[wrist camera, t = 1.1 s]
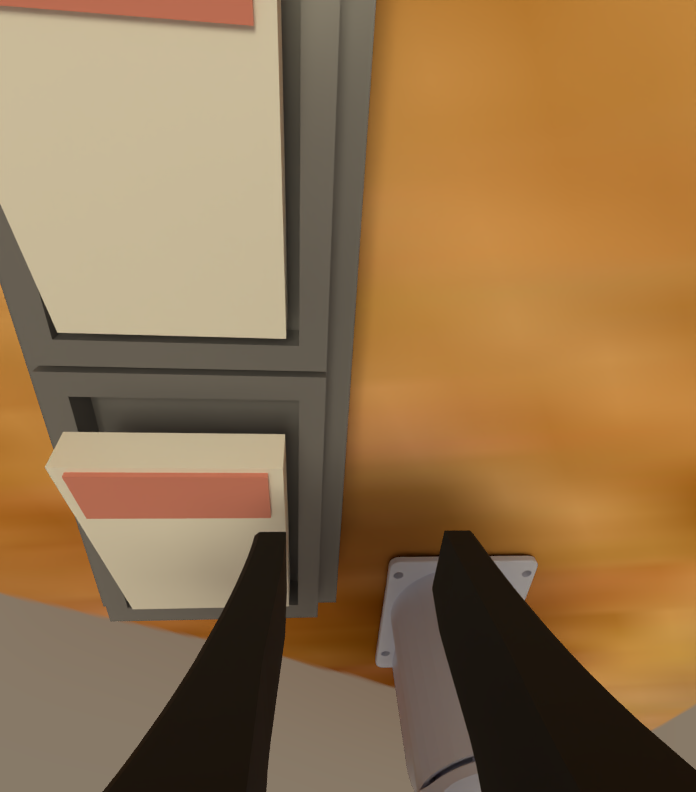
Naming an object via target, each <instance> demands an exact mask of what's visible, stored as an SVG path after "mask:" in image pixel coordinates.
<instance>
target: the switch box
mask: <svg viewBox="0 0 696 792" xmlns="http://www.w3.org/2000/svg"><path fill="white" fill-rule="evenodd" d="M375 9H376V0H281V24H282V68H283V112H284V156H285V200H286V244H287V287H288V322H287V334H286V339H273V338H236V337H199V336H162V335H125V334H88V333H57V331H56V328H55V326H54V324H53V322H52V319H51V317H50V315H49V313H48V310H47V308H46V306H45V304H44V301H43V299H42V297H41V295H40V292H39V290H38V288H37V286H36V283H35V281H34V279H33V277H32V274H31V272H30V270H29V268H28V265H27V263H26V261H25V259H24V256H23V254H22V252H21V250H20V247H19V245H18V243H17V241H16V238H15V236H14V234H13V232H12V229H11V227H10V225H9V223H8V220H7V218H6V216H5V214H4V211H3V209H2V207H1V205H0V284H1V287H2V290H3V293H4V296H5V299H6V302H7V306H8V309H9V312H10V315H11V318H12V321H13V324H14V327H15V331H16V334H17V337H18V340H19V343H20V346H21V349H22V352H23V356H24V359H25V362H26V365H27V368H28V371H29V374H30V377H31V381H32V384H33V387H34V390H35V393H36V396H37V399H38V402H39V406H40V409H41V412H42V415H43V418H44V421H45V424H46V427H47V431H48V434H49V437H50V440H51V443H52V446H53V449H55V447H56V445H57V443H58V441H59V439H60V437H61V435H62V433H63V432H123V433H217V434H285V443H286V472H287V500H288V528H289V556H290V594H289V606H286V618H295V617H317V611H318V602H336V591H337V577H338V562H339V547H340V532H341V517H342V502H343V487H344V472H345V457H346V442H347V427H348V412H349V397H350V383H351V368H352V353H353V338H354V323H355V308H356V293H357V278H358V263H359V248H360V233H361V218H362V203H363V189H364V174H365V159H366V144H367V129H368V114H369V99H370V84H371V69H372V54H373V39H374V24H375ZM75 518H76V517H75ZM76 521H77V524H78V528H79V531H80V534H81V537H82V540H83V543H84V546H85V549H86V553H87V556H88V559H89V562H90V565H91V568H92V571H93V574H94V578H95V581H96V584H97V587H98V590H99V593H100V596H101V599H102V603H103V606H106V608H107V612H108V615H109V618H110V621H153V620H200V619H219V617H220V615H221V613H222V611H223V609H224V608H178V609H132V607H131V606H130V604H129V602H128V601H127V599H126V598H125V596H124V594H123V593H122V591H121V589H120V588H119V586H118V585H117V583H116V581H115V580H114V578H113V577H112V575H111V573H110V572H109V570H108V569H107V567H106V565H105V564H104V562H103V560H102V559H101V557H100V556H99V554H98V552H97V551H96V549H95V548H94V546H93V544H92V543H91V541H90V540H89V538H88V536H87V535H86V533H85V531H84V530H83V528H82V527H81V525H80V523H79V522H78V520H77V519H76Z"/></svg>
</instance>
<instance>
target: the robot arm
mask: <svg viewBox="0 0 696 792" xmlns="http://www.w3.org/2000/svg"><path fill="white" fill-rule="evenodd" d="M537 567H538V564H537V562H536V560H535V558H534V557H533V556H489V555H488V553H487V552H486V551H485V549H484V548H483V547H482V545H481V544H480V542H479V541H478V540H477V538H476V537H475V536H474V534H473V533H472V532H471V531H444V536H443V540H442V545H441V549H440V554H439V557H396V558H394V559H392V560H391V561H390V563H389V567H388V574H387V581H386V588H385V595H384V602H383V608H382V615H381V622H380V629H379V636H378V643H377V650H376V656H375V660H376V665H377V666H379V667H383V668H384V667H392V668H393V675H394V682H395V689H396V696H397V703H398V709H399V716H400V724H401V731H402V737H403V745H404V751H405V759H406V766H407V770H408V775H409V778H410V781H411V784H412V787H413V789H414V792H696V770H695V769H694V768H693V767H692V766H691V765H689V764H688V763H687V762H686V761H685V760H684V759H682V758H681V757H680V756H679V755H678V754H677V753H675V752H674V751H673V750H672V749H671V748H670V747H669V746H667V745H666V744H665V743H664V742H663V741H662V740H660V739H659V738H658V737H657V736H656V735H655V734H654V733H652V732H651V731H650V730H649V729H648V728H647V727H645V726H644V725H643V724H642V723H641V722H640V721H639V720H638V719H636V718H635V717H634V716H633V715H632V714H631V713H630V712H629V711H628V710H627V709H626V708H625V707H624V706H623V705H622V704H620V703H619V702H618V701H617V700H616V699H615V698H614V697H613V696H612V695H611V694H610V693H609V692H608V691H607V690H606V689H605V688H604V687H603V686H602V685H601V684H600V683H599V682H598V681H597V680H596V679H595V678H594V677H593V676H592V675H591V674H590V673H589V672H588V671H587V670H586V669H585V668H584V667H583V666H582V665H581V664H580V663H579V662H578V661H577V660H576V659H575V657H574V656H573V655H572V654H571V653H570V652H569V651H568V650H567V649H566V648H565V647H564V646H563V644H562V643H561V642H560V641H559V640H558V639H557V638H556V637H555V636H554V635H553V633H552V632H551V631H550V630H549V629H548V628H547V627H546V625H545V624H544V623H543V622H542V621H541V620H540V618H539V617H538V616H537V615H536V614H535V612H534V611H533V610H532V609H531V608H530V606H529V605H528V604H527V603H526V602H525V598H526V596H527V593H528V590H529V588H530V585H531V582H532V580H533V577H534V575H535V572H536V569H537ZM397 572H398V573H397ZM286 601H287V556H286V532H259V533H257V534H256V535H255V536H254V539H253V543H252V546H251V549H250V552H249V554H248V557H247V559H246V562H245V564H244V567H243V569H242V571H241V574H240V576H239V578H238V580H237V583H236V585H235V587H234V589H233V591H232V593H231V595H230V597H229V599H228V601H227V603H226V605H225V607H224V609H223V611H222V613H221V615H220V617H219V619H218V621H217V623H216V624H215V626H214V628H213V630H212V631H211V633H210V635H209V637H208V638H207V640H206V642H205V644H204V645H203V647H202V649H201V651H200V652H199V654H198V656H197V658H196V660H195V661H194V663H193V664H192V666H191V668H190V669H189V671H188V673H187V674H186V676H185V677H184V679H183V681H182V682H181V684H180V685H179V687H178V688H177V690H176V691H175V693H174V694H173V696H172V697H171V699H170V701H169V702H168V703H167V705H166V707H165V708H164V709H163V711H162V712H161V714H160V715H159V717H158V718H157V720H156V721H155V722H154V724H153V725H152V726H151V728H150V729H149V731H148V732H147V734H146V735H145V736H144V738H143V739H142V741H141V742H140V744H139V745H138V747H137V748H136V749H135V750H134V752H133V753H132V754H131V756H130V757H129V759H128V760H127V761H126V763H125V764H124V765H123V767H122V768H121V769H120V770H119V772H118V773H117V774H116V776H115V777H114V778H113V779H112V781H111V782H110V783H109V784H108V786H107V787H106V788H105V789H104V791H103V792H266V787H267V770H268V760H269V750H270V741H271V734H272V727H273V720H274V712H275V705H276V697H277V690H278V683H279V675H280V669H281V661H282V654H283V646H284V639H285V623H286Z"/></svg>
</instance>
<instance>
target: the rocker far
mask: <svg viewBox="0 0 696 792" xmlns="http://www.w3.org/2000/svg"><path fill="white" fill-rule="evenodd" d="M45 469H46V470H47V472H48V473H49V475H50V477H51V478H52V480H53V481H54V483H55V485H56V486H57V488H58V490H59V491H60V493H61V494H62V496H63V498H64V499H65V501H66V502H67V504H68V506H69V507H70V509H71V511H72V512H73V514H74V515H75V517H76V519H77V520H78V522H79V523H80V525H81V527H82V528H83V530H84V531H85V533H86V535H87V536H88V538H89V540H90V541H91V543H92V544H93V546H94V548H95V549H96V551H97V552H98V554H99V556H100V557H101V559H102V560H103V562H104V564H105V565H106V567H107V569H108V570H109V572H110V573H111V575H112V577H113V578H114V580H115V581H116V583H117V585H118V586H119V588H120V589H121V591H122V593H123V594H124V596H125V598H126V599H127V601H128V602H129V604H130V606H131V607H132V609H178V608H224V607H225V605H226V603H227V601H228V599H229V597H230V595H231V593H232V591H233V589H234V587H235V585H236V583H237V580H238V578H239V576H240V574H241V571H242V569H243V567H244V564H245V562H246V559H247V557H248V554H249V552H250V549H251V546H252V543H253V539H254V536H255V535H256V534H257V533H259V532H286V556H287V601H286V606H289V594H290V556H289V528H288V500H287V472H286V443H285V434H217V433H123V432H63V433H62V435H61V437H60V439H59V441H58V443H57V445H56V447H55V449H54V450H53V452H52V454H51V456H50V458H49V460H48V462H47V464H46V466H45Z"/></svg>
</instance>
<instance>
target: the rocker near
mask: <svg viewBox="0 0 696 792" xmlns="http://www.w3.org/2000/svg"><path fill="white" fill-rule="evenodd" d="M0 205H1V207H2V209H3V211H4V214H5V216H6V218H7V220H8V223H9V225H10V227H11V229H12V232H13V234H14V236H15V238H16V241H17V243H18V245H19V247H20V250H21V252H22V254H23V256H24V259H25V261H26V263H27V265H28V268H29V270H30V272H31V274H32V277H33V279H34V281H35V283H36V286H37V288H38V290H39V292H40V295H41V297H42V299H43V301H44V304H45V306H46V308H47V310H48V313H49V315H50V317H51V319H52V322H53V324H54V326H55V328H56V331H57V333H88V334H125V335H162V336H199V337H236V338H273V339H286V334H287V322H288V287H287V244H286V200H285V156H284V112H283V68H282V24H281V0H0Z"/></svg>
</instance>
